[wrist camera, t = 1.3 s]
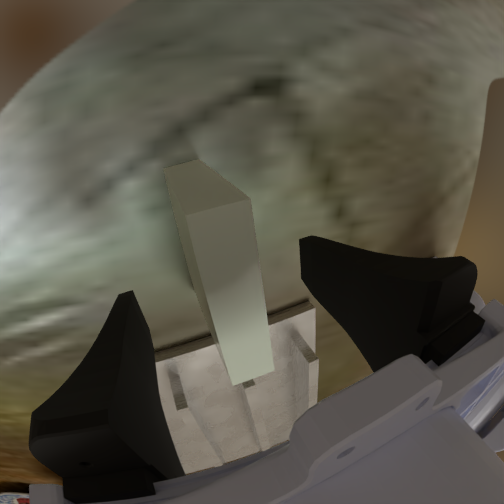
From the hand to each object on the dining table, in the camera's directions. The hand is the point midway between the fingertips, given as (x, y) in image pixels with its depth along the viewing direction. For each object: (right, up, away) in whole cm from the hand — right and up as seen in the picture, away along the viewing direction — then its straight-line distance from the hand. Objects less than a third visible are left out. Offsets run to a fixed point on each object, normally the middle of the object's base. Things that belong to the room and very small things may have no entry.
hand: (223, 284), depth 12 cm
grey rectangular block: (-2, +3, +5) cm, 6 cm away
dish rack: (-2, -14, +13) cm, 19 cm away
